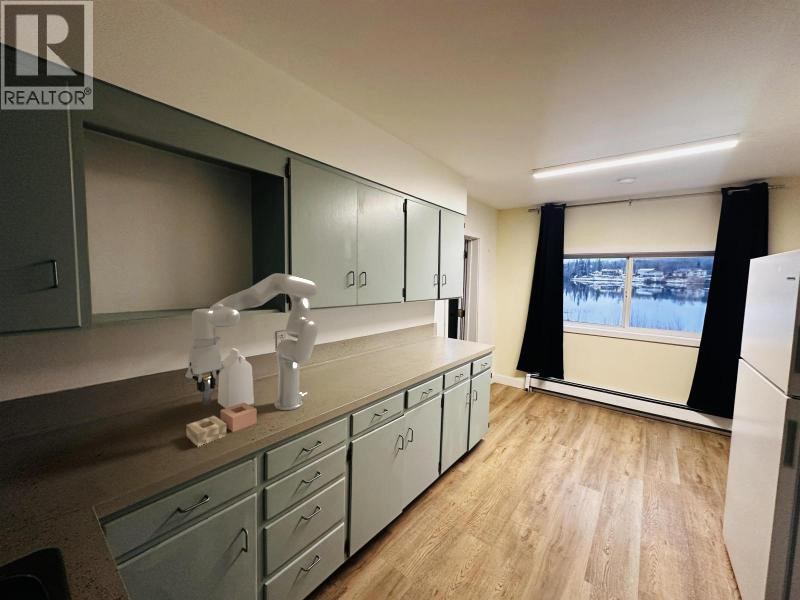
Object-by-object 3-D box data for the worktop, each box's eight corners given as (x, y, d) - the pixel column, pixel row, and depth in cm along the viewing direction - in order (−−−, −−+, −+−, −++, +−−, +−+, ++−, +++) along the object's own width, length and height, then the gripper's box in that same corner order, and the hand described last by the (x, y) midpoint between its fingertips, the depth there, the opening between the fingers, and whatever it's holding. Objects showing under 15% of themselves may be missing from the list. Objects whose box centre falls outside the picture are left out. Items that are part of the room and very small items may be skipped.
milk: (217, 402, 154) (216, 349, 151) (242, 395, 163) (242, 345, 160) (228, 410, 147) (228, 354, 144) (253, 403, 155) (253, 350, 152)
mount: (214, 427, 132) (214, 415, 131) (226, 436, 126) (226, 423, 125) (186, 437, 124) (186, 424, 123) (198, 447, 118) (197, 434, 117)
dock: (244, 415, 143) (244, 402, 142) (256, 422, 137) (256, 409, 136) (220, 423, 135) (220, 410, 134) (232, 432, 129) (232, 417, 128)
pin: (209, 400, 126) (208, 373, 125) (214, 403, 124) (213, 376, 123) (199, 403, 123) (198, 376, 122) (203, 406, 121) (202, 378, 120)
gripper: (222, 336, 129) (223, 381, 132) (175, 344, 116) (177, 393, 118) (232, 340, 125) (233, 385, 127) (184, 348, 112) (186, 399, 114)
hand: (206, 389), depth 123 cm, fingers closed on pin, 3 cm apart
